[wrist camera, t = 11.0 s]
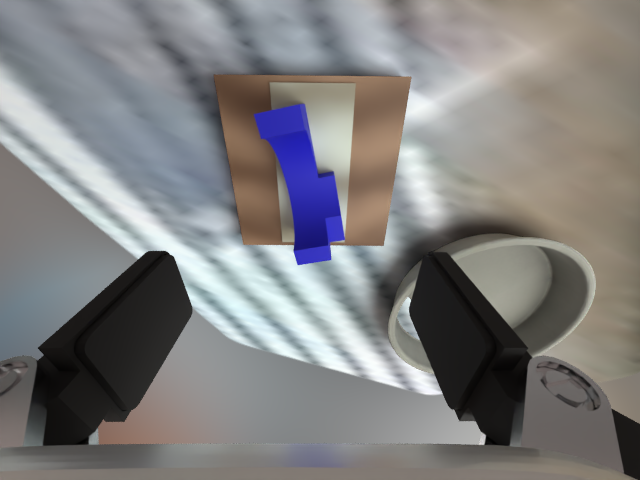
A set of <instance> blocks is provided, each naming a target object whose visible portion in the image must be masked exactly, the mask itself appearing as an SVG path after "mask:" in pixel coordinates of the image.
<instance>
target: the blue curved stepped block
mask: <svg viewBox="0 0 640 480" xmlns="http://www.w3.org/2000/svg"><path fill="white" fill-rule="evenodd" d="M254 117H255V120H256V124H257V127H258V130H259V134H260V137H261V139H265V140H267V141H268V142H269V143H270V145H271V146H272V148H273V150H274V151H275V153H276V156H277V158H278V160H279V163H280V165H281V168H282V171H283V174H284V178H285V181H286V185H287V189H288V193H289V197H290V202H291V208H292V214H293V222H294V254H295V258H296V261H297V264H298V265H302V264H308V263H314V262H321V261H327V260H331V250H330V242H336V241H342V240H345V236H344V230H343V223H342V217H341V211H340V205H339V199H338V193H337V187H336V181H335V175H334V171H332V172H327V173H322V174H318V169H317V164H316V159H315V154H314V149H313V143H312V138H311V133H310V128H309V123H308V118H307V112H306V107H305V104H298V105H293V106H289V107H284V108H280V109H275V110H271V111H266V112H262V113H257V114H254Z"/></svg>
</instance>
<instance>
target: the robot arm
mask: <svg viewBox="0 0 640 480" xmlns="http://www.w3.org/2000/svg"><path fill="white" fill-rule="evenodd" d="M409 313H410V317H411V320H412V322H413V324H414V327H415V329H416V331H417V334H418V336H419V338H420V341H421V343H422V346H423V348H424V350H425V353H426V355H427V357H428V360H429V362H430V364H431V367H432V369H433V372H434V374H435V376H436V379H437V381H438V383H439V386H440V388H441V390H442V393H443V395H444V398H445V400H446V402H447V404H448V406H449V407H450V408H451V409H454V410H455V412H456V414H457V417H458V419H459V421H476V422H477V425H478V427H479V429H480V431H481V432H482V433H481V437H480V442H479V445H461V444H327V443H323V444H320V443H317V444H109V445H108V444H107V445H106V444H104V445H99V444H98V426H99V425H100V423H101V422H102V420H103V419H104V420H105V421H106V422H124V421H125V420H126V418H127V416H128V415H129V413H130V411H131V410H133V409H134V408H136V407H137V406H138V404H139V403H140V401H141V400H142V398H143V396H144V395H145V393H146V391H147V389H148V388H149V386H150V384H151V383H152V381H153V379H154V378H155V376H156V374H157V373H158V371H159V369H160V367H161V366H162V364H163V363H164V361H165V359H166V357H167V356H168V354H169V352H170V351H171V349H172V347H173V345H174V344H175V342H176V341H177V339H178V337H179V335H180V334H181V332H182V330H183V329H184V327H185V325H186V324H187V322H188V320H189V319H190V317H191V315H192V305H191V302H190V300H189V297H188V294H187V291H186V289H185V286H184V283H183V280H182V278H181V275H180V272H179V269H178V267H177V264H176V261H175V259H174V257H173V256H172V255H170V254H169V253H168V252H166V251H148V252H146V253H145V254H144V255H143V256H142V257H141V258H139V259H138V260H137V261H136V262H135V263H134V264H133V265H132V266H130V267H129V268H128V269H127V270H126V271H125V272H124V273H122V274H121V275H120V276H119V277H118V278H117V279H116V280H114V281H113V282H112V283H111V284H110V285H109V286H108V287H106V288H105V289H104V290H103V291H102V292H101V293H100V294H98V295H97V296H96V297H95V298H94V299H93V300H92V301H91V302H89V303H88V304H87V305H86V306H85V307H84V308H83V309H81V310H80V311H79V312H78V313H77V314H76V315H75V316H73V317H72V318H71V319H70V320H69V321H68V322H67V323H66V324H64V325H63V326H62V327H61V328H60V329H59V330H58V331H56V332H55V333H54V334H53V335H52V336H51V337H50V338H48V339H47V340H46V341H45V342H44V343H43V344H42V345H41V346H40V347H38V349H39V350H40V351H41V352H42V353H43V354H44V356H43V357H42V358H40V359H39V360H38V361H37V360H36V359H35V358H33V357H32V356H18V357H13V358H10V359H7V360H4V361H1V362H0V480H640V424H639V423H637V422H635V421H633V420H631V419H629V418H628V417H626V416H624V415H622V414H620V413H618V412H617V411H615V410H613V409H611V405H610V403H609V400H608V398H607V396H606V395H605V393H604V392H603V391H602V389H601V388H600V387H599V386H598V385H597V384H596V383H595V382H594V381H593V380H592V379H591V378H590V377H589V376H587V375H586V374H585V373H583V372H582V371H580V370H579V369H578V368H576V367H574V366H572V365H570V364H569V363H567V362H565V361H562V360H559V359H557V358H554V357H549V356H535V357H534V358H533V357H532V356H531V355H530V354H529V353H528V351H527V350H528V347H527V346H526V345H525V344H524V342H523V341H522V340H521V339H520V338H519V336H518V335H517V334H516V333H515V332H514V331H513V329H512V328H511V327H510V326H509V325H508V323H507V322H506V321H505V320H504V319H503V318H502V316H501V315H500V314H499V313H498V312H497V310H496V309H495V308H494V307H493V306H492V305H491V303H490V302H489V301H488V300H487V299H486V297H485V296H484V295H483V294H482V293H481V292H480V290H479V289H478V288H477V287H476V286H475V284H474V283H473V282H472V281H471V280H470V279H469V277H468V276H467V275H466V274H465V273H464V271H463V270H462V269H461V268H460V267H459V266H458V264H457V263H456V262H455V261H454V260H453V258H452V257H451V256H450V255H449V254H448V253H447V252H429V253H428V255H427V256H424V257H423V259H422V262H421V266H420V270H419V274H418V277H417V281H416V285H415V288H414V292H413V296H412V299H411V303H410V307H409Z"/></svg>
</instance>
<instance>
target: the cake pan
mask: <svg viewBox="0 0 640 480" xmlns="http://www.w3.org/2000/svg"><path fill="white" fill-rule="evenodd" d="M434 252H447V253H448V254H449V255H450V256H451V257H452V258H453V260H454V261H455V262H456V263H457V264H458V266H459V267H460V268H461V269H462V270H463V271H464V273H465V274H466V275H467V276H468V277H469V279H470V280H471V281H472V282H473V283H474V284H475V286H476V287H477V288H478V289H479V290H480V292H481V293H482V294H483V295H484V296H485V297H486V299H487V300H488V301H489V302H490V303H491V305H492V306H493V307H494V308H495V309H496V310H497V312H498V313H499V314H500V315H501V316H502V318H503V319H504V320H505V321H506V322H507V323H508V325H509V326H510V327H511V328H512V329H513V331H514V332H515V333H516V334H517V335H518V336H519V338H520V339H521V340H522V341H523V342H524V344H525V345H526V346H527V347H528V350H527V351H528V353H529V354H530V355H531V356H532V357H533V358H534V357H535V356H539V355H541V354H543V353H544V352H546V351H547V350H549V349H551V348H552V347H554V346H555V345H557V344H558V343H559V342H561V341H562V340H563V339H564V338H565V337H567V336H568V335H569V334H570V333H571V332H572V331H573V330H574V329H575V328H576V327H577V326H578V324H579V323H580V322H581V321H582V319H583V318H584V317H585V315H586V313H587V312H588V310H589V308H590V306H591V304H592V301H593V298H594V294H595V288H596V281H595V275H594V272H593V269H592V267H591V265H590V264H589V262H588V261H587V260H586V259H585V258H584V256H582V255H581V254H580V253H579V252H578V251H576V250H575V249H573V248H571V247H569V246H567V245H565V244H563V243H560V242H557V241H553V240H548V239H543V238H534V237H519V236H515V235H510V234H499V233H492V234H481V235H475V236H471V237H467V238H463V239H460V240H457V241H454V242H451V243H449V244H447V245H445V246H443V247H441V248H439V249H437V250H435V251H434ZM421 262H422V260H421V261H420V262H418V263H417V264H416V265H415V266H414V267H413V268H412V269H411V270H410V271H409V272H408V274H407V275H406V276H405V277H404V279H403V280H402V282H401V284H400V285H399V287H398V290H397V292H396V295H395V299H394V306H393V309H392V311H391V314H390V317H389V322H388V335H389V340H390V343H391V345H392V347H393V349H394V351H395V352H396V353H397V355H398V356H399V357H400V358H401V359H402V360H404V361H405V362H406V363H408V364H409V365H411V366H413V367H415V368H417V369H419V370H422V371H425V372H428V373H432V374H434V372H433V369H432V367H431V364H430V362H429V360H428V357H427V355H426V353H425V350H424V348H423V346H422V343H421V341H420V340H418V339H416V338H414V337H412V336H411V335H409V333H408V332H406V331H405V330H404V329H403V328H402V327H401V325H400V323H399V321H398V319H397V314H398V312H399V310H400V308H401V306H402V304H403V302H404V301H405V300H406V298H407V297H409V298H410V299H412V296H413V292H414V288H415V285H416V281H417V277H418V274H419V270H420V266H421Z"/></svg>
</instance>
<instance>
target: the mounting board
mask: <svg viewBox="0 0 640 480" xmlns="http://www.w3.org/2000/svg"><path fill="white" fill-rule="evenodd" d="M214 80H215V86H216V91H217V97H218V103H219V108H220V114H221V120H222V126H223V131H224V137H225V143H226V148H227V154H228V160H229V165H230V171H231V177H232V182H233V188H234V194H235V199H236V205H237V211H238V217H239V222H240V228H241V234H242V239H243V245H294V222H293V214H292V208H291V202H290V197H289V193H288V189H287V185H286V181H285V178H284V174H283V171H282V168H281V165H280V163H279V160H278V158H277V156H276V153H275V151H274V150H273V148H272V146H271V145H270V143H269V142H268V141H267V140H265V139H261V137H260V134H259V130H258V127H257V124H256V120H255V117H254V114H257V113H262V112H266V111H271V110H275V109H280V108H284V107H289V106H293V105H298V104H305V107H306V112H307V118H308V123H309V128H310V133H311V138H312V143H313V149H314V154H315V159H316V164H317V169H318V174H322V173H327V172H332V171H334V175H335V181H336V187H337V193H338V199H339V205H340V211H341V217H342V223H343V230H344V236H345V240H342V241H336V242H330V245H364V246H384V240H385V234H386V228H387V222H388V216H389V209H390V203H391V197H392V191H393V185H394V179H395V173H396V167H397V161H398V155H399V149H400V143H401V137H402V131H403V125H404V119H405V113H406V107H407V100H408V94H409V88H410V82H411V77H392V76H300V75H214Z"/></svg>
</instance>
